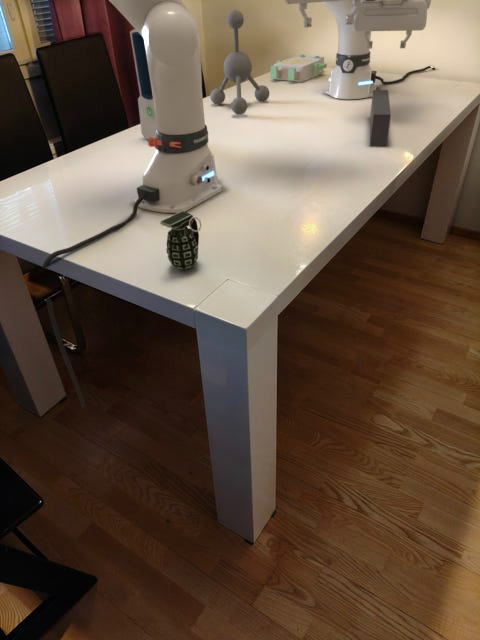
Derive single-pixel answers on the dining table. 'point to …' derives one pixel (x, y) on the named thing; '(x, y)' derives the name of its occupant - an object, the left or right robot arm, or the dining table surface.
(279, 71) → the grey green flat case
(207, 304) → the dining table surface
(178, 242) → the grenade
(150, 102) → the electronic device
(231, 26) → the molecular model
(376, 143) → the bar
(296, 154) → the dining table surface
